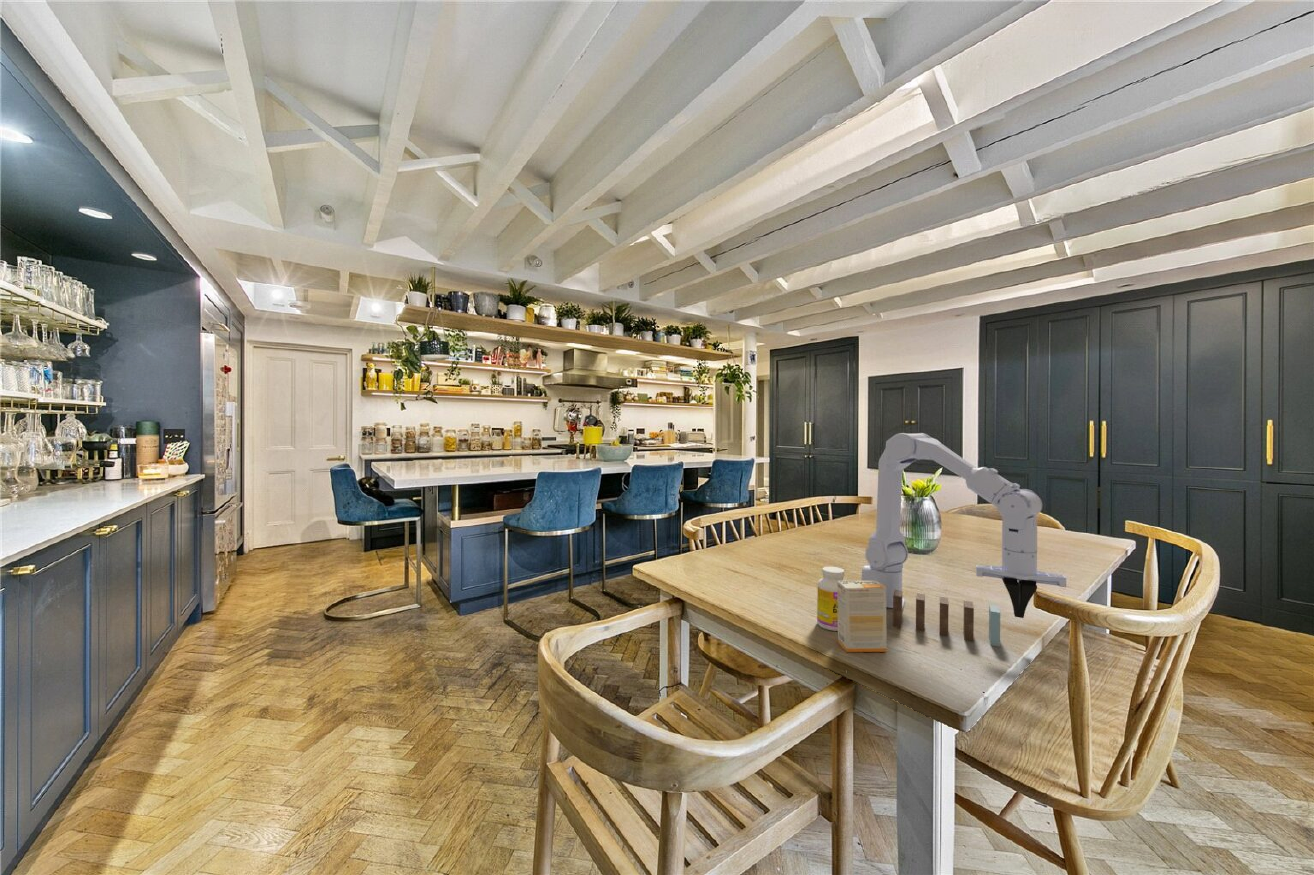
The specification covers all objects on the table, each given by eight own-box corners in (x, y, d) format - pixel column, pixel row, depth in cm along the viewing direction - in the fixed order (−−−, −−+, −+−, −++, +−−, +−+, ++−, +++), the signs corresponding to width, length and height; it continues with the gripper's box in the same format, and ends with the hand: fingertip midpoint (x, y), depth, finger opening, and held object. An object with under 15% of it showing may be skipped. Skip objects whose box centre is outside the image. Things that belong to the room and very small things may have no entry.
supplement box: (875, 642, 99) (876, 579, 98) (887, 652, 94) (887, 587, 94) (836, 642, 99) (836, 579, 98) (845, 652, 94) (845, 587, 93)
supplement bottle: (832, 634, 102) (832, 575, 102) (810, 622, 108) (811, 567, 108) (855, 629, 105) (855, 571, 105) (833, 618, 111) (833, 563, 111)
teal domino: (990, 645, 97) (990, 611, 97) (988, 636, 101) (989, 604, 101) (1000, 646, 96) (1000, 612, 96) (997, 638, 100) (998, 605, 100)
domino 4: (964, 639, 99) (964, 606, 99) (963, 632, 103) (963, 600, 103) (973, 641, 99) (973, 608, 99) (972, 633, 102) (972, 601, 102)
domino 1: (892, 626, 106) (893, 595, 106) (894, 619, 110) (894, 589, 110) (900, 627, 106) (901, 596, 105) (902, 620, 109) (902, 590, 109)
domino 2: (915, 630, 104) (916, 599, 104) (916, 623, 108) (916, 593, 108) (924, 632, 103) (924, 600, 103) (924, 625, 107) (924, 594, 107)
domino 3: (939, 635, 102) (939, 602, 102) (939, 627, 106) (939, 596, 105) (948, 636, 101) (948, 604, 101) (947, 629, 105) (948, 598, 105)
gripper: (977, 549, 97) (977, 615, 97) (1070, 559, 89) (1069, 630, 89) (975, 542, 103) (975, 604, 103) (1062, 550, 95) (1061, 617, 95)
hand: (1018, 615), depth 96 cm, fingers closed
